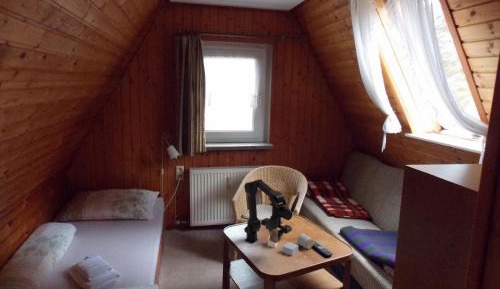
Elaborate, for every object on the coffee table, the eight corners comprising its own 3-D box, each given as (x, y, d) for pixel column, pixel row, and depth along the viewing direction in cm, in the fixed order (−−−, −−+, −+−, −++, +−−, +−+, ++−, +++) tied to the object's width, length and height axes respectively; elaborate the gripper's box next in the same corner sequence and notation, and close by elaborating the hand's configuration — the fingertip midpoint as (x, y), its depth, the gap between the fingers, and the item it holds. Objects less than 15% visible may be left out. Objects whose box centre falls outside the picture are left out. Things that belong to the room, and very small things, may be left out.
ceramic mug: (306, 251, 208) (307, 239, 207) (296, 245, 214) (297, 234, 213) (317, 246, 215) (318, 235, 213) (307, 241, 221) (308, 230, 219)
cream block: (267, 245, 213) (268, 237, 212) (270, 242, 218) (270, 234, 216) (275, 247, 211) (275, 238, 210) (277, 244, 216) (278, 235, 215)
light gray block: (282, 252, 206) (282, 246, 205) (288, 247, 212) (288, 241, 211) (292, 255, 202) (292, 249, 201) (297, 251, 208) (298, 245, 207)
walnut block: (269, 240, 199) (269, 231, 198) (274, 237, 203) (274, 228, 202) (276, 243, 196) (276, 233, 195) (281, 240, 200) (281, 230, 199)
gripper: (255, 213, 196) (254, 238, 199) (282, 223, 185) (281, 249, 188) (266, 208, 204) (265, 232, 208) (293, 217, 193) (291, 242, 196)
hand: (275, 238), depth 199 cm, fingers closed on walnut block, 5 cm apart
